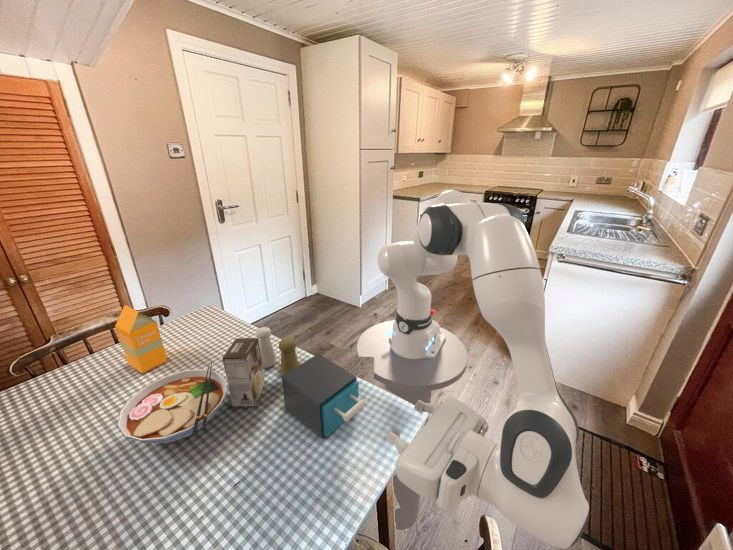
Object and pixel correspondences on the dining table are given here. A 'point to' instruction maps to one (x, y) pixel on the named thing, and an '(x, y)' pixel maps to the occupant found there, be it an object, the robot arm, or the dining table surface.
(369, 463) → the dining table surface
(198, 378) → the ramen bowl
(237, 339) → the coffee box
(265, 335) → the salt shaker
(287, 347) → the olive pepper shaker
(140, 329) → the orange juice
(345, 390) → the teal drawer
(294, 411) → the grey drawer cabinet
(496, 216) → the robot arm
